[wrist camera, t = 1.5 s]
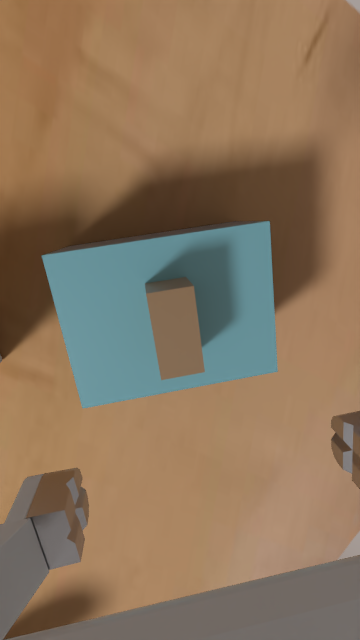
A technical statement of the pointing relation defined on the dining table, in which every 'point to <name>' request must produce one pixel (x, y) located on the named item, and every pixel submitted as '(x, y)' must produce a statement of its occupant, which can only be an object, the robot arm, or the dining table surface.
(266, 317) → the teal lid
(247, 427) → the dining table surface
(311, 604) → the robot arm
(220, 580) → the dining table surface
